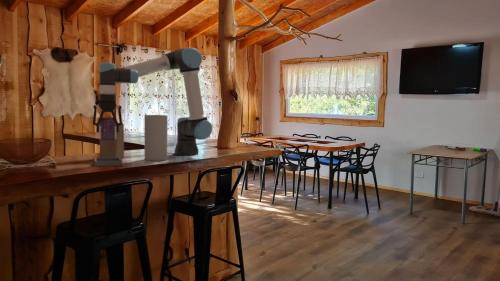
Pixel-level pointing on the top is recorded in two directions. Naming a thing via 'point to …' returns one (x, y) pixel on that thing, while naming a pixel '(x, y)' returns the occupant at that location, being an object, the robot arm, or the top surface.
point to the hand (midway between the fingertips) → (107, 138)
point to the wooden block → (113, 145)
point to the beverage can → (107, 129)
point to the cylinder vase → (155, 137)
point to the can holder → (108, 161)
